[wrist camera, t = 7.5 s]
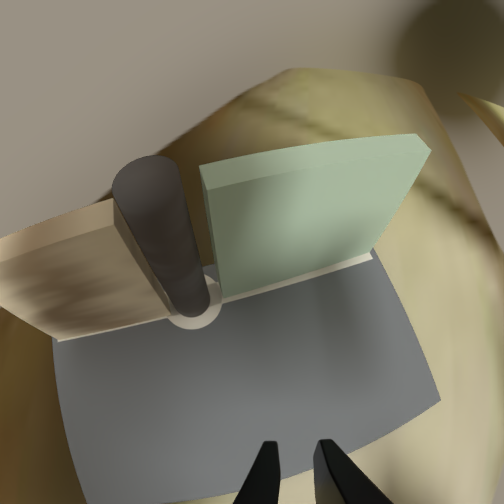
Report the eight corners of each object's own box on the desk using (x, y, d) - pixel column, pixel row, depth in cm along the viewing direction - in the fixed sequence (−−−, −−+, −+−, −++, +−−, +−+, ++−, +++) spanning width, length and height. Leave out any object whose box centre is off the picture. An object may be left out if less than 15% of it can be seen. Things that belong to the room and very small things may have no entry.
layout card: (91, 502, 10) (87, 504, 10) (54, 308, 17) (50, 305, 16) (436, 400, 14) (441, 400, 14) (358, 229, 21) (360, 225, 20)
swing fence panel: (223, 298, 17) (206, 190, 9) (217, 280, 17) (198, 165, 10) (369, 252, 19) (431, 150, 11) (361, 237, 19) (415, 133, 11)
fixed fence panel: (59, 347, 15) (-55, 277, 6) (57, 316, 16) (-44, 232, 7) (214, 312, 17) (184, 195, 8) (205, 279, 18) (174, 148, 9)
